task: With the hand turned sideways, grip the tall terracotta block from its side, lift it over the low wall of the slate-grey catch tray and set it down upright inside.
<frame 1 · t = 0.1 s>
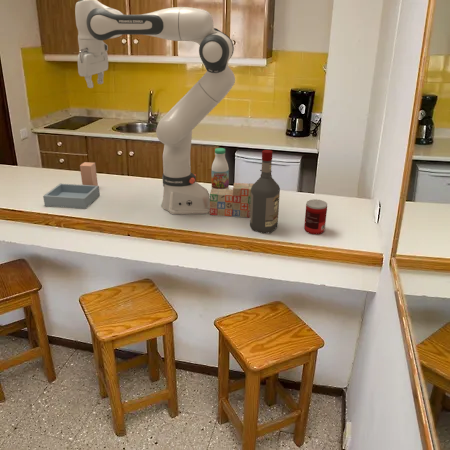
hand: (95, 85, 175), 48 cm above the counter, tool pointing down, fingers open, 8 cm apart
milk bottle: (220, 192, 206), on the counter
stack of blocks: (236, 214, 184), on the counter, touching arm
canned food: (314, 230, 171), on the counter
catch tray: (73, 200, 195), on the counter
terracotta block: (90, 189, 208), on the counter
liquor: (263, 228, 173), on the counter
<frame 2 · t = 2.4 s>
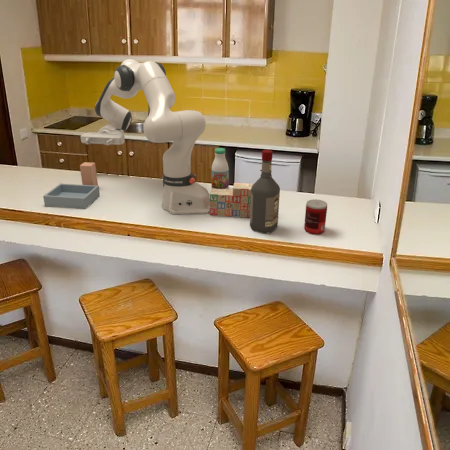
hand: (96, 143, 211), 18 cm above the counter, tool horizontal, fingers open, 8 cm apart
nothing on the counter moved.
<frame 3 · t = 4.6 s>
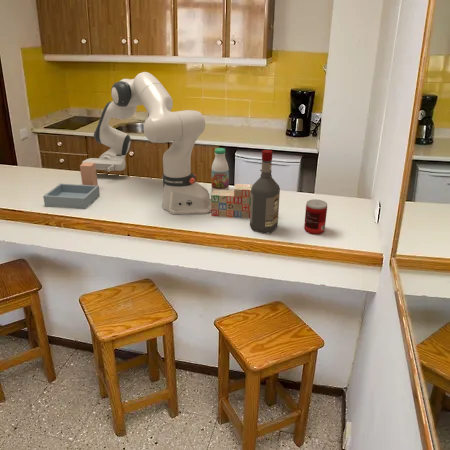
hand: (97, 169, 213), 6 cm above the counter, tool horizontal, fingers open, 8 cm apart
stack of blocks: (238, 215, 184), on the counter
everything else where it was.
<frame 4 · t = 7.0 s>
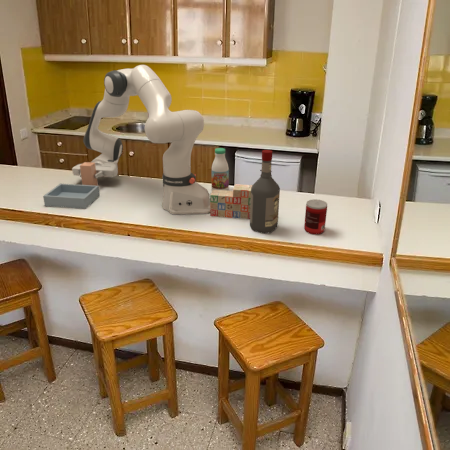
hand: (88, 176, 204), 7 cm above the counter, tool horizontal, fingers closed on terracotta block, 5 cm apart
terracotta block: (90, 189, 208), on the counter, touching gripper
everything else where it was.
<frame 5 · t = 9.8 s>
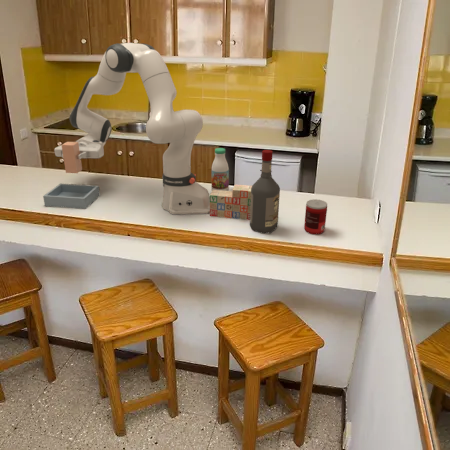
hand: (70, 156, 190), 19 cm above the counter, tool horizontal, fingers closed on terracotta block, 5 cm apart
terracotta block: (74, 171, 193), point 12 cm above the counter, touching gripper
when the fingers open (9 cm above the counter, at t = 13.0 s): terracotta block drops 1 cm, resting on catch tray.
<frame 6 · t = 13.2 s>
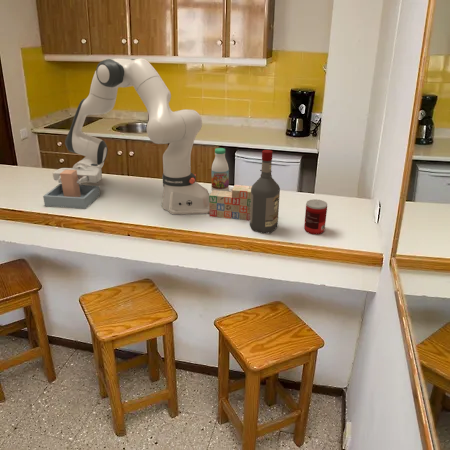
hand: (69, 181, 191), 9 cm above the counter, tool horizontal, fingers open, 7 cm apart
terracotta block: (72, 198, 195), point 1 cm above the counter, touching catch tray
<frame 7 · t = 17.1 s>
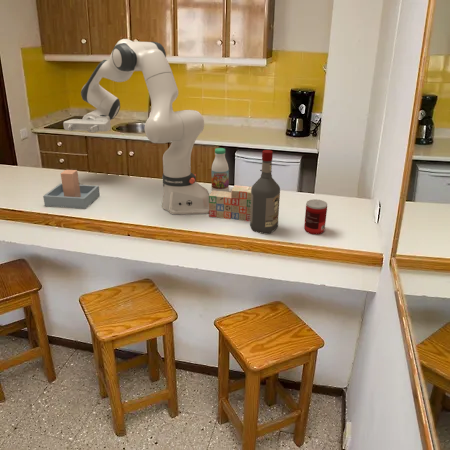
hand: (79, 129, 197), 27 cm above the counter, tool horizontal, fingers open, 8 cm apart
stack of blocks: (236, 217, 182), on the counter, touching arm
everything else where it was.
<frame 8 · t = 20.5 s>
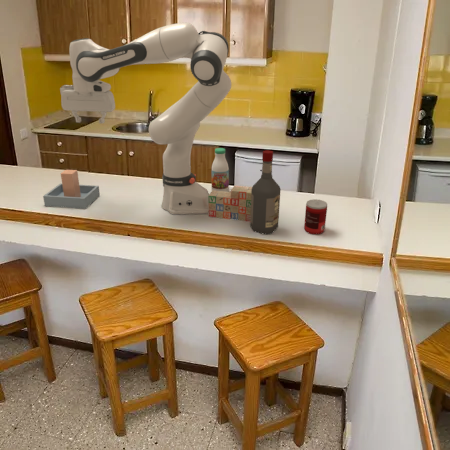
hand: (90, 122, 175), 35 cm above the counter, tool pointing down, fingers open, 8 cm apart
nothing on the counter moved.
at the end: terracotta block inside the target area on the catch tray (0.1 cm from its centre), point 1.0 cm above the catch tray's base; terracotta block tilted 0°; the gripper is holding nothing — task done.
